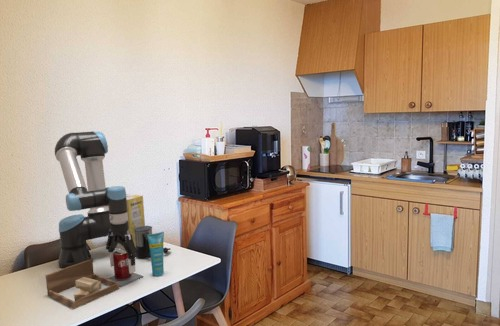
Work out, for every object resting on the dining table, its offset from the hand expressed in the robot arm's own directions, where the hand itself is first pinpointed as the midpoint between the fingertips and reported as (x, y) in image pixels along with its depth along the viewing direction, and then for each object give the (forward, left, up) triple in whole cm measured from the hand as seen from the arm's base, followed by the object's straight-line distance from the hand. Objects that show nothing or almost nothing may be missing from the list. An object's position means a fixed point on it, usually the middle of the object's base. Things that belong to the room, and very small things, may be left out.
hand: (122, 269), depth 173 cm
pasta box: (-37, +29, -5) cm, 47 cm away
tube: (+9, +12, -5) cm, 16 cm away
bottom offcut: (+1, -17, -5) cm, 18 cm away
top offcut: (+1, -17, -2) cm, 17 cm away
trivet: (0, 0, -5) cm, 5 cm away
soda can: (0, 0, -4) cm, 4 cm away
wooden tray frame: (-3, -17, -5) cm, 18 cm away
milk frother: (-13, +27, -5) cm, 30 cm away
